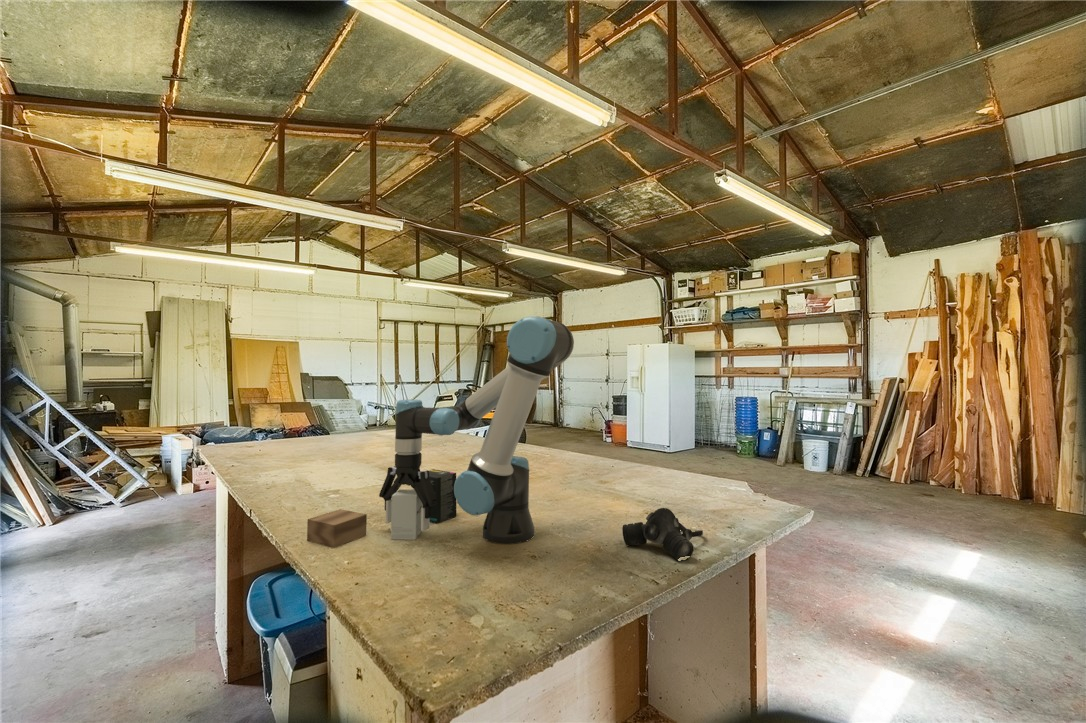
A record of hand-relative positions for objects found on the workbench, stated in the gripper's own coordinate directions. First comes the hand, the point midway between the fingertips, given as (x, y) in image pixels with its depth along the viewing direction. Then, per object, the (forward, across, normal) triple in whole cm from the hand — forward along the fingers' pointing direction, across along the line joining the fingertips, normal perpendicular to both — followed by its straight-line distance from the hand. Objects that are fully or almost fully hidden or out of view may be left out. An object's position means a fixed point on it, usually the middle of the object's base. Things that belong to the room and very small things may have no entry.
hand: (407, 525), depth 135 cm
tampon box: (+3, +4, -17) cm, 18 cm away
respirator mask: (+3, -70, -30) cm, 76 cm away
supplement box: (+3, 0, 0) cm, 3 cm away
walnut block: (+3, +16, +11) cm, 20 cm away
